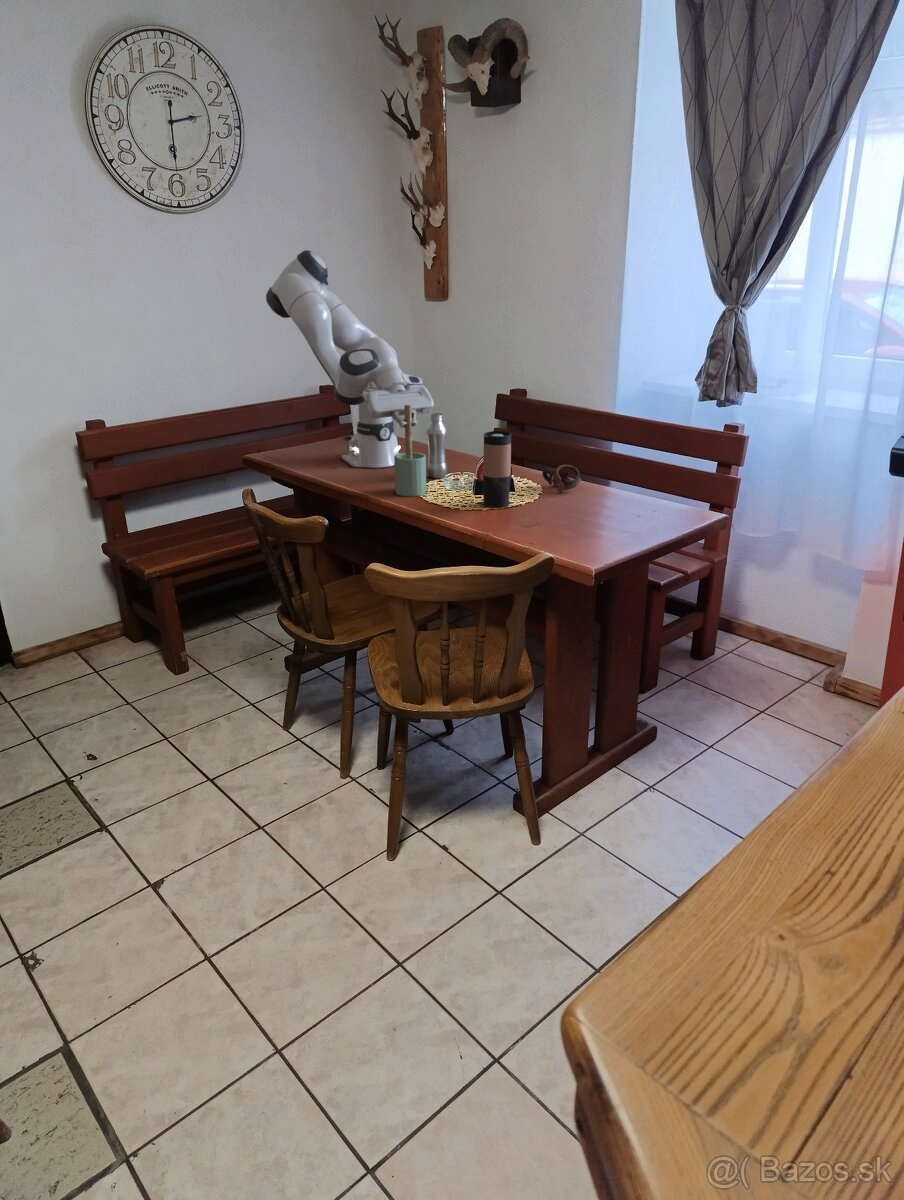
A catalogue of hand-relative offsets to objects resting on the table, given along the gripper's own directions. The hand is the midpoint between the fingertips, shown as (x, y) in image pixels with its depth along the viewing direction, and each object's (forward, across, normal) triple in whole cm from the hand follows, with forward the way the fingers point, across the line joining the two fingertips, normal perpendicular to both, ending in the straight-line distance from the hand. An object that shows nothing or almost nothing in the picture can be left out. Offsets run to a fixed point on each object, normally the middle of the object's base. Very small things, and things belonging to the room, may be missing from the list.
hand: (409, 425), depth 234 cm
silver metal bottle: (+6, +16, +22) cm, 28 cm away
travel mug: (+31, +14, -3) cm, 34 cm away
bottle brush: (+11, 0, +12) cm, 16 cm away
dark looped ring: (+29, +40, 0) cm, 50 cm away
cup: (+14, 0, +14) cm, 20 cm away
